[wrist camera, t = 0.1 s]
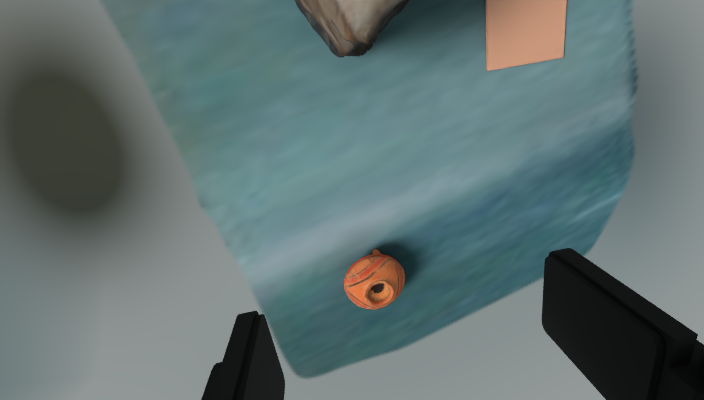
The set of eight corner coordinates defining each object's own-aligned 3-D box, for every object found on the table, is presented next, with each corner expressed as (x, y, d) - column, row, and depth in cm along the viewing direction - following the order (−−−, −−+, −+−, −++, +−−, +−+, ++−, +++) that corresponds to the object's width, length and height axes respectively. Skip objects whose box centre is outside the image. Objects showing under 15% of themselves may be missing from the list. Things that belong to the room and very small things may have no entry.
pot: (340, 242, 44) (358, 268, 39) (393, 239, 47) (418, 263, 41) (334, 294, 47) (350, 326, 41) (384, 289, 50) (407, 318, 44)
